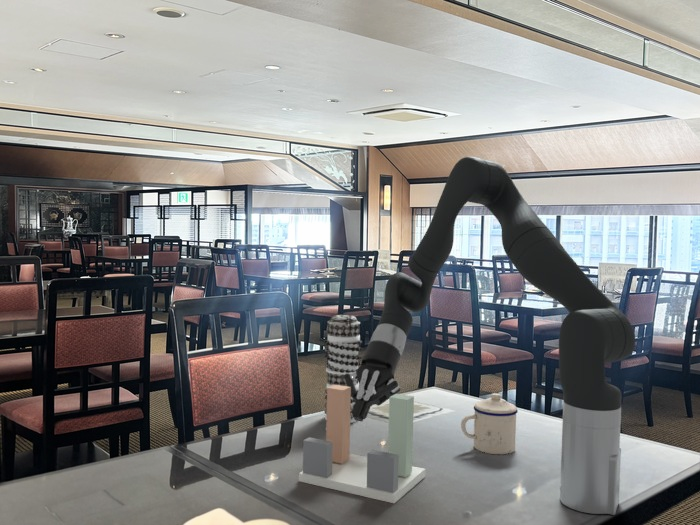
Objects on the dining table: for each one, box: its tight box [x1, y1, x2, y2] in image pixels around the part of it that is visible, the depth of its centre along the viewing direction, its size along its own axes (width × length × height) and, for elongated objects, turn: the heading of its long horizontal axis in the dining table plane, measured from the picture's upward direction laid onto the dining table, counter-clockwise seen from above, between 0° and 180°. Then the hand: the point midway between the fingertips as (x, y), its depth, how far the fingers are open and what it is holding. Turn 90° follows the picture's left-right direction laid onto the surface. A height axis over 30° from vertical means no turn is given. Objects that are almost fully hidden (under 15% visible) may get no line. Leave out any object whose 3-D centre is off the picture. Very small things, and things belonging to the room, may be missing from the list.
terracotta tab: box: [325, 385, 351, 464], centre depth 126 cm, size 4×3×14 cm
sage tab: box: [387, 393, 415, 477], centre depth 119 cm, size 4×3×14 cm
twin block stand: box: [298, 436, 426, 504], centre depth 121 cm, size 19×14×8 cm
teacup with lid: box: [460, 393, 518, 455], centre depth 139 cm, size 12×9×12 cm
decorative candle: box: [323, 314, 363, 424], centre depth 159 cm, size 9×9×25 cm
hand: (357, 419), depth 133 cm, fingers closed
